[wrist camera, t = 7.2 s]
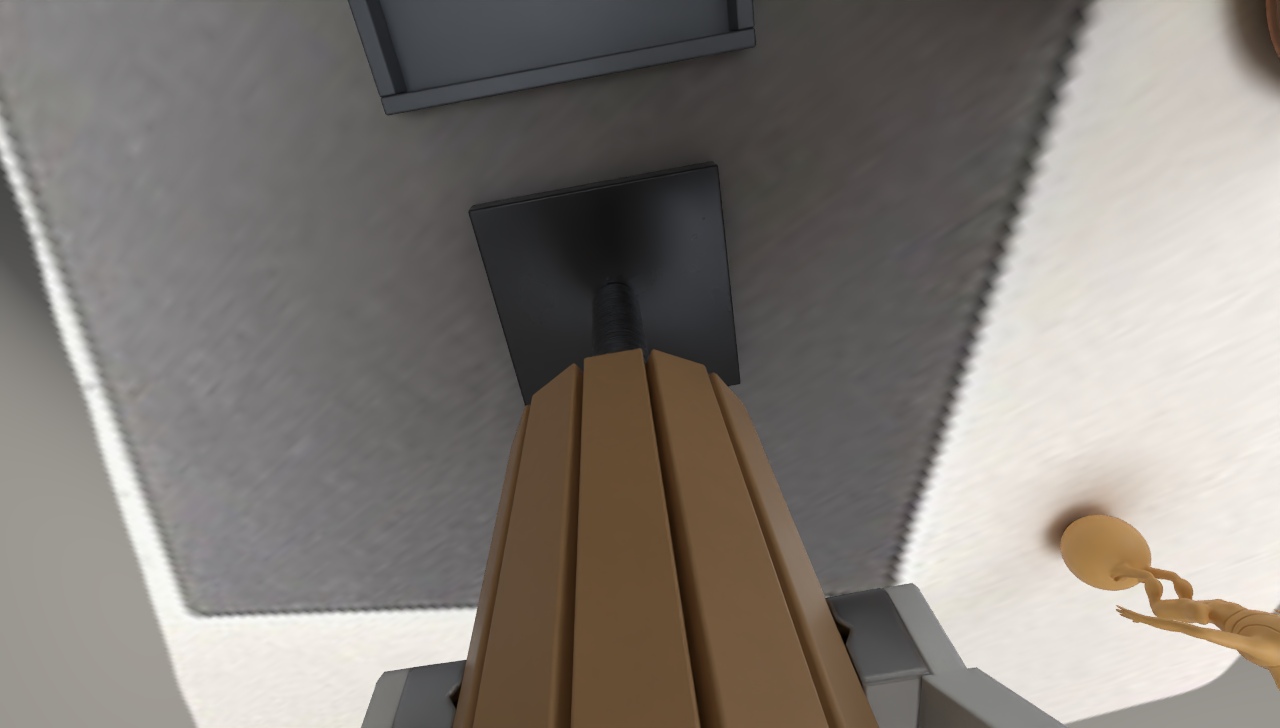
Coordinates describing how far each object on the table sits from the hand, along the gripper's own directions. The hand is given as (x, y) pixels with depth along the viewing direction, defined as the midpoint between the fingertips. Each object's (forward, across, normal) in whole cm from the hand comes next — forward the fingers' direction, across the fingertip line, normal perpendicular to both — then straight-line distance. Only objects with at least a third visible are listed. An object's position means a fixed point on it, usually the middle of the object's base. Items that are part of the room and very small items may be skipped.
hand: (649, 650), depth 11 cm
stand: (+19, 0, +1) cm, 19 cm away
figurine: (+19, -24, +19) cm, 36 cm away
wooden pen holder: (+6, 0, 0) cm, 6 cm away
